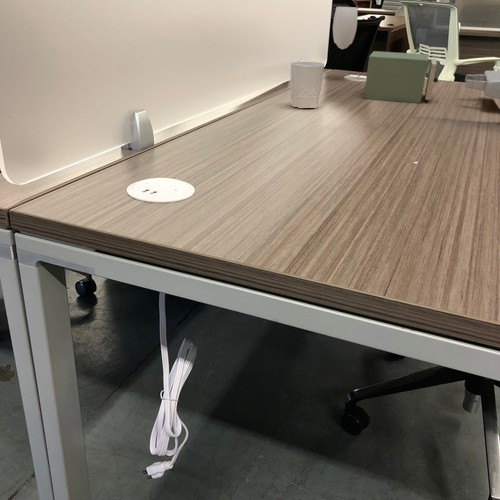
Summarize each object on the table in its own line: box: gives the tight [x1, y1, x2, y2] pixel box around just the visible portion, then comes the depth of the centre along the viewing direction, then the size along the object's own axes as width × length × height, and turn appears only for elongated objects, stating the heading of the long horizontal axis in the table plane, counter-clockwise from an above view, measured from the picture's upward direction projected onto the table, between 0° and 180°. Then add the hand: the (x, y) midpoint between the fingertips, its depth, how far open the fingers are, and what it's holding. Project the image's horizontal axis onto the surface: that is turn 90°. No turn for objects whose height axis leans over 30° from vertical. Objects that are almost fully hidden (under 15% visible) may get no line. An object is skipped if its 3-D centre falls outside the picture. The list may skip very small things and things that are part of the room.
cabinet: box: [363, 50, 429, 104], centre depth 136 cm, size 15×13×11 cm
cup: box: [332, 6, 358, 50], centre depth 157 cm, size 7×7×21 cm
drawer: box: [424, 58, 439, 101], centre depth 135 cm, size 15×11×9 cm
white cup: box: [289, 60, 325, 109], centre depth 122 cm, size 8×8×10 cm
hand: (465, 80), depth 131 cm, fingers open, 8 cm apart
